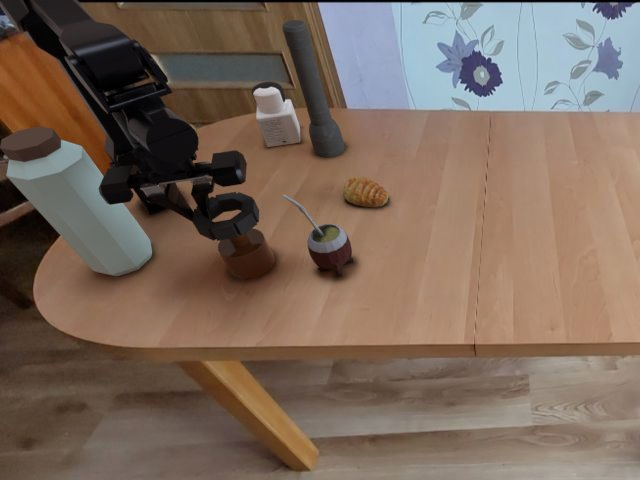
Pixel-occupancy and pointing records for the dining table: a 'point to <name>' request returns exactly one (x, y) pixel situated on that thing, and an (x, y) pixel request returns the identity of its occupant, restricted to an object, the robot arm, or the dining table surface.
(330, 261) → the mate gourd
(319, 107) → the flashlight
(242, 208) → the black octagonal ring
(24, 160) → the water bottle
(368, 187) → the pastry
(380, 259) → the dining table surface
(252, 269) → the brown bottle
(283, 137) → the container
